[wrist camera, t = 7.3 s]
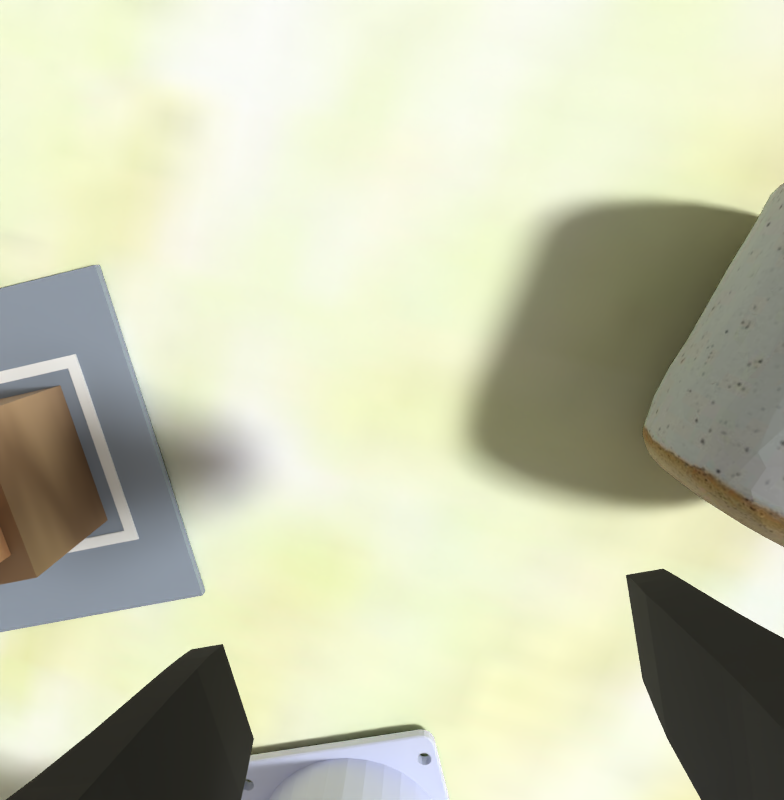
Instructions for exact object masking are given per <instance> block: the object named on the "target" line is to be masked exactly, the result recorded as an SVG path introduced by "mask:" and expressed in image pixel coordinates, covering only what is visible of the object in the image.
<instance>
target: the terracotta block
mask: <svg viewBox="0 0 784 800" xmlns="http://www.w3.org/2000/svg"><path fill="white" fill-rule="evenodd" d="M10 555H11V553H10V551H9V548H8V546H7V543H6V541H5V538H4V536H3V533H2V530H1V528H0V562H2V561H3V560H5V559H6V558H8V557H9V556H10Z"/></svg>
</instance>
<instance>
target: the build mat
mask: <svg viewBox="0 0 784 800" xmlns="http://www.w3.org/2000/svg"><path fill="white" fill-rule="evenodd" d="M59 385H60V386H61V389H62V391H63V394H64V397H65V400H66V403H67V406H68V408H69V411H70V414H71V417H72V420H73V423H74V425H75V428H76V431H77V434H78V437H79V440H80V443H81V445H82V448H83V451H84V454H85V457H86V460H87V462H88V465H89V468H90V471H91V474H92V477H93V479H94V482H95V485H96V488H97V491H98V494H99V497H100V499H101V502H102V505H103V508H104V511H105V514H106V516H107V519H108V520H107V521H106V522H105V523H104V524H102V525H101V526H100V527H99V528H97V529H96V530H95V531H94V532H92V533H91V534H90V535H89V536H88V537H86V538H85V539H84V540H83V541H81V542H80V543H79V544H78V545H76V546H75V547H74V548H73V549H72V550H70V551H69V552H68V553H67V554H65V555H64V556H63V557H62V558H60V559H59V560H58V561H57V562H56V563H54V564H53V565H52V566H51V567H49V568H48V569H47V570H46V571H44V572H43V573H42V574H41V575H40V576H38V577H37V578H33V579H27V580H22V581H17V582H12V583H6V584H1V585H0V632H4V631H9V630H15V629H20V628H26V627H31V626H37V625H42V624H48V623H53V622H59V621H64V620H70V619H75V618H80V617H86V616H91V615H97V614H102V613H108V612H113V611H119V610H124V609H130V608H135V607H141V606H146V605H152V604H157V603H163V602H168V601H174V600H179V599H185V598H190V597H196V596H201V595H203V594H204V592H205V588H204V585H203V582H202V579H201V576H200V573H199V570H198V567H197V564H196V561H195V557H194V554H193V551H192V548H191V545H190V542H189V539H188V536H187V533H186V530H185V527H184V523H183V520H182V517H181V514H180V511H179V508H178V505H177V502H176V499H175V496H174V493H173V489H172V486H171V483H170V480H169V477H168V474H167V471H166V468H165V465H164V462H163V459H162V456H161V452H160V449H159V446H158V443H157V440H156V437H155V434H154V431H153V428H152V425H151V422H150V418H149V415H148V412H147V409H146V406H145V403H144V400H143V397H142V394H141V391H140V388H139V384H138V381H137V378H136V375H135V372H134V369H133V366H132V363H131V360H130V357H129V354H128V350H127V347H126V344H125V341H124V338H123V335H122V332H121V329H120V326H119V323H118V320H117V317H116V313H115V310H114V307H113V304H112V301H111V298H110V295H109V292H108V289H107V286H106V283H105V279H104V276H103V273H102V270H101V267H100V265H93V266H89V267H85V268H81V269H77V270H73V271H69V272H65V273H61V274H57V275H53V276H49V277H45V278H41V279H36V280H32V281H28V282H24V283H20V284H16V285H12V286H8V287H4V288H0V399H2V398H7V397H11V396H15V395H20V394H24V393H29V392H33V391H37V390H42V389H46V388H51V387H55V386H59Z"/></svg>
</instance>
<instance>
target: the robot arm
mask: <svg viewBox="0 0 784 800" xmlns="http://www.w3.org/2000/svg"><path fill="white" fill-rule="evenodd" d="M626 578H627V584H628V590H629V597H630V603H631V609H632V615H633V622H634V628H635V634H636V641H637V647H638V653H639V660H640V666H641V672H642V679H643V682H644V684H645V686H646V689H647V691H648V694H649V696H650V699H651V701H652V703H653V706H654V708H655V711H656V713H657V715H658V718H659V720H660V722H661V725H662V727H663V729H664V732H665V734H666V736H667V739H668V740H669V742H670V744H671V746H672V748H673V750H674V751H675V753H676V755H677V757H678V759H679V761H680V762H681V764H682V766H683V768H684V770H685V771H686V773H687V775H688V777H689V779H690V780H691V782H692V784H693V786H694V788H695V789H696V791H697V793H698V795H699V797H700V798H701V800H784V638H782V637H780V636H778V635H777V634H775V633H773V632H771V631H769V630H767V629H765V628H764V627H762V626H760V625H758V624H756V623H755V622H753V621H751V620H749V619H748V618H746V617H744V616H742V615H740V614H739V613H737V612H735V611H734V610H732V609H730V608H728V607H727V606H725V605H723V604H722V603H720V602H718V601H717V600H715V599H713V598H712V597H710V596H708V595H707V594H705V593H703V592H702V591H700V590H698V589H697V588H695V587H693V586H692V585H690V584H688V583H687V582H685V581H683V580H682V579H680V578H678V577H677V576H675V575H673V574H672V573H670V572H668V571H666V570H664V569H659V570H653V571H647V572H642V573H636V574H630V575H626ZM253 740H254V738H253V735H252V732H251V729H250V726H249V723H248V720H247V717H246V714H245V711H244V708H243V705H242V702H241V699H240V695H239V692H238V689H237V686H236V683H235V680H234V677H233V674H232V671H231V668H230V665H229V662H228V659H227V656H226V653H225V650H224V647H223V644H221V645H215V646H209V647H203V648H198V649H192V650H190V651H189V652H187V653H186V654H184V655H183V656H182V657H180V658H179V659H178V660H176V661H175V662H174V663H172V664H171V665H170V666H169V667H168V668H166V669H165V670H164V671H163V672H161V673H160V674H159V675H158V676H157V677H156V678H154V679H153V680H152V681H151V682H150V683H148V684H147V685H146V686H145V687H144V688H143V689H141V690H140V691H139V692H138V693H137V694H136V695H135V696H133V697H132V698H131V699H130V700H129V701H128V702H126V703H125V704H124V705H123V706H122V707H120V708H119V709H118V710H117V711H116V712H115V713H113V714H112V715H111V716H110V717H109V718H108V719H106V720H105V721H104V722H103V723H102V724H101V725H99V726H98V727H97V728H96V729H95V730H94V731H92V732H91V733H90V734H89V735H88V736H86V737H85V738H84V739H83V740H81V741H80V742H79V743H78V744H76V745H75V746H74V747H73V748H71V749H70V750H69V751H68V752H66V753H65V754H64V755H63V756H62V757H60V758H59V759H58V760H57V761H55V762H54V763H53V764H52V765H50V766H49V767H48V768H47V769H45V770H44V771H43V772H42V773H40V774H39V775H38V776H37V777H36V778H34V779H33V780H32V781H30V782H29V783H28V784H26V785H25V786H24V787H22V788H21V789H20V790H18V791H17V792H16V793H14V794H13V795H12V796H10V797H9V798H8V799H6V800H450V799H449V795H448V791H447V787H446V783H445V779H444V775H443V771H442V767H441V763H440V759H439V755H438V751H437V747H436V743H435V739H434V737H433V735H432V734H431V733H430V732H429V731H426V730H413V731H406V732H399V733H393V734H386V735H380V736H373V737H366V738H360V739H353V740H347V741H340V742H333V743H327V744H320V745H314V746H307V747H300V748H294V749H287V750H281V751H274V752H267V753H261V754H254V755H251V750H252V745H253ZM422 753H427V754H429V755H428V756H421V755H419V754H422ZM246 779H249V780H250V781H252V782H248V781H246Z"/></svg>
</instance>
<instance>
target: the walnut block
mask: <svg viewBox="0 0 784 800" xmlns="http://www.w3.org/2000/svg"><path fill="white" fill-rule="evenodd" d="M107 520H108V519H107V516H106V514H105V511H104V508H103V505H102V502H101V499H100V497H99V494H98V491H97V488H96V485H95V482H94V479H93V477H92V474H91V471H90V468H89V465H88V462H87V460H86V457H85V454H84V451H83V448H82V445H81V443H80V440H79V437H78V434H77V431H76V428H75V425H74V423H73V420H72V417H71V414H70V411H69V408H68V406H67V403H66V400H65V397H64V394H63V391H62V389H61V386H60V385H59V386H55V387H51V388H46V389H42V390H37V391H33V392H29V393H24V394H20V395H15V396H11V397H7V398H2V399H0V528H1V530H2V533H3V536H4V538H5V541H6V543H7V546H8V548H9V551H10V553H11V555H10V556H9V557H8V558H6V559H5V560H3V561H2V562H0V585H1V584H6V583H12V582H17V581H22V580H27V579H33V578H37V577H38V576H40V575H41V574H42V573H43V572H44V571H46V570H47V569H48V568H49V567H51V566H52V565H53V564H54V563H56V562H57V561H58V560H59V559H60V558H62V557H63V556H64V555H65V554H67V553H68V552H69V551H70V550H72V549H73V548H74V547H75V546H76V545H78V544H79V543H80V542H81V541H83V540H84V539H85V538H86V537H88V536H89V535H90V534H91V533H92V532H94V531H95V530H96V529H97V528H99V527H100V526H101V525H102V524H104V523H105V522H106V521H107Z"/></svg>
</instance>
